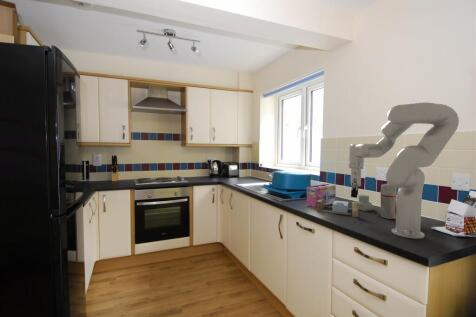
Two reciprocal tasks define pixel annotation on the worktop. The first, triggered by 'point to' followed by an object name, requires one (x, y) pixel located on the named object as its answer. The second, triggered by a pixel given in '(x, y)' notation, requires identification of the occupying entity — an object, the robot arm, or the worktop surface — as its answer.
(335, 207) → the block
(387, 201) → the spray can
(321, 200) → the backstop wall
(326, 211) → the track board
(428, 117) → the robot arm
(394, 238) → the worktop surface
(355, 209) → the dowel
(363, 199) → the air freshener
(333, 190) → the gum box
